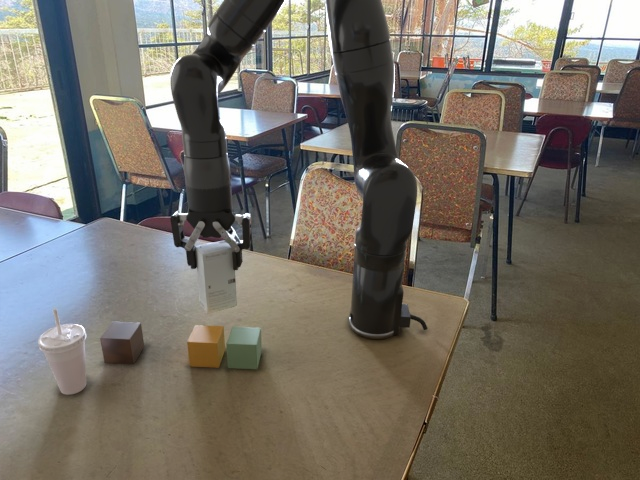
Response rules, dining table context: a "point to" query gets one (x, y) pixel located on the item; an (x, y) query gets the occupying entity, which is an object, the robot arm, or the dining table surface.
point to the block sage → (244, 348)
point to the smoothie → (65, 355)
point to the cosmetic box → (216, 276)
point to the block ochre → (206, 346)
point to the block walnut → (122, 342)
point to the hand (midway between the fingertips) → (215, 267)
